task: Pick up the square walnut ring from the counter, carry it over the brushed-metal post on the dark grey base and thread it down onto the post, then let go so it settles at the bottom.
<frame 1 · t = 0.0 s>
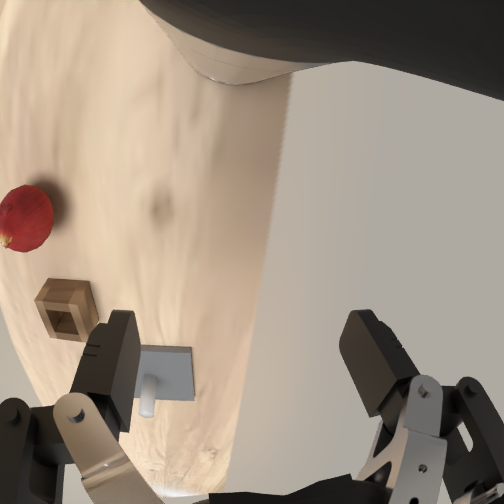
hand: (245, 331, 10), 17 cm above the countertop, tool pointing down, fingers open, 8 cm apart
ring: (73, 299, 29), on the countertop
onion: (44, 201, 23), on the countertop
post stand: (150, 372, 37), on the countertop
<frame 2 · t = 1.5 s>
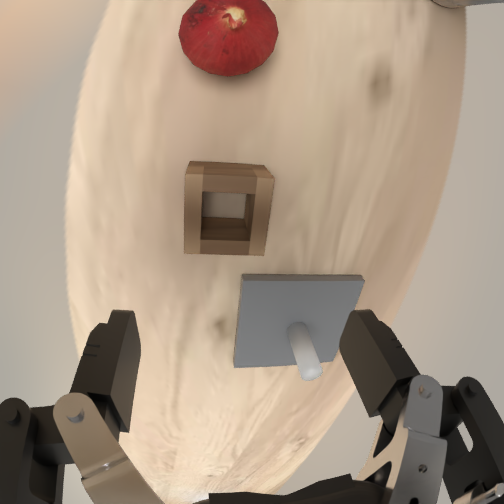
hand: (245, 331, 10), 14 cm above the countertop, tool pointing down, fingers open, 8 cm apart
ring: (224, 197, 23), on the countertop
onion: (225, 44, 17), on the countertop
post stand: (294, 322, 30), on the countertop
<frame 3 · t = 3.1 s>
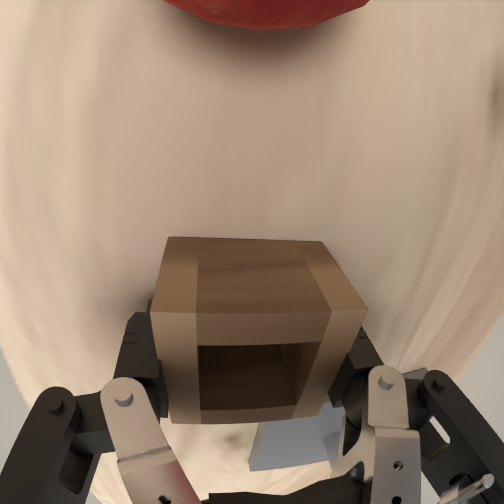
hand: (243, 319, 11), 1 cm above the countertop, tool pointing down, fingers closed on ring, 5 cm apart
ring: (241, 301, 12), on the countertop, touching gripper
post stand: (331, 426, 19), on the countertop
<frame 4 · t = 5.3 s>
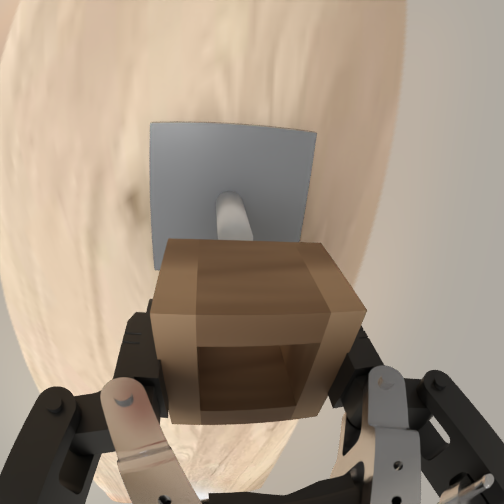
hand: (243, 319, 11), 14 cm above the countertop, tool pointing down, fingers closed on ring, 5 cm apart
ring: (241, 302, 12), point 13 cm above the countertop, touching gripper
post stand: (228, 199, 23), on the countertop
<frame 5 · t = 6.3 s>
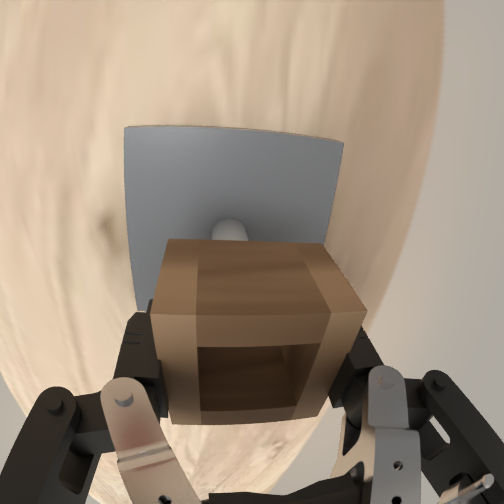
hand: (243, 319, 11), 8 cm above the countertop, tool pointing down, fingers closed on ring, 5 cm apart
ring: (241, 303, 12), point 7 cm above the countertop, touching gripper
post stand: (227, 226, 18), on the countertop
when the fingers open (5 cm above the countertop, at t = 7.4 s): ring drops 3 cm, resting on post stand.
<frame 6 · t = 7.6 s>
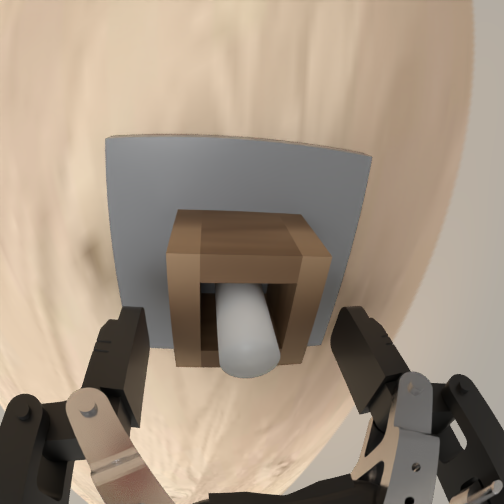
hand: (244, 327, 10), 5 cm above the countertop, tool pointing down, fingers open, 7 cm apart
ring: (236, 265, 14), point 1 cm above the countertop, touching post stand
post stand: (233, 255, 15), on the countertop
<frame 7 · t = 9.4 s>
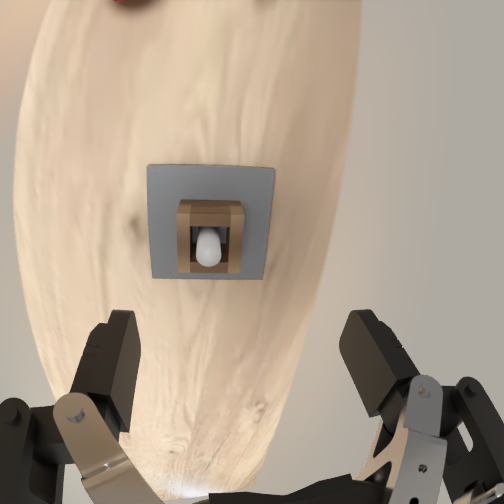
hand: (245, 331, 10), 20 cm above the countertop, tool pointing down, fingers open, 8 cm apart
ring: (209, 227, 29), point 1 cm above the countertop, touching post stand
post stand: (208, 223, 29), on the countertop
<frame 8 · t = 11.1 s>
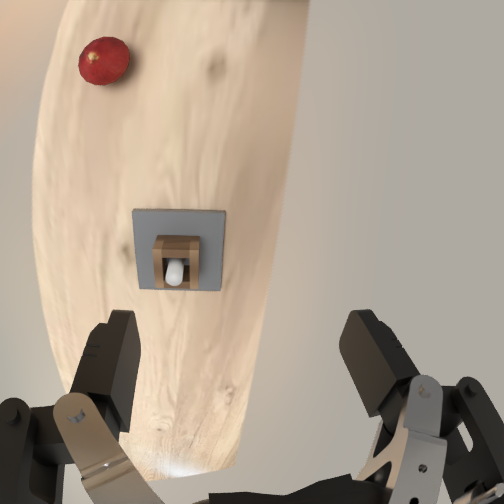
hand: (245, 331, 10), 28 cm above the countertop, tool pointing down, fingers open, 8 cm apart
ring: (178, 254, 39), point 1 cm above the countertop, touching post stand
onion: (114, 64, 27), on the countertop
post stand: (178, 250, 40), on the countertop
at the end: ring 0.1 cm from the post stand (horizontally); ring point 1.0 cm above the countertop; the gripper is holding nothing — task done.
